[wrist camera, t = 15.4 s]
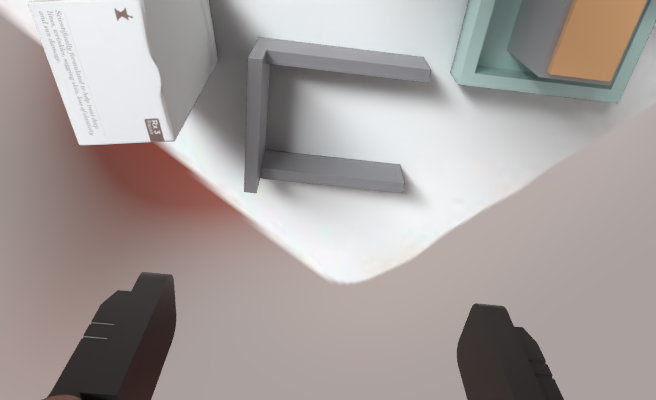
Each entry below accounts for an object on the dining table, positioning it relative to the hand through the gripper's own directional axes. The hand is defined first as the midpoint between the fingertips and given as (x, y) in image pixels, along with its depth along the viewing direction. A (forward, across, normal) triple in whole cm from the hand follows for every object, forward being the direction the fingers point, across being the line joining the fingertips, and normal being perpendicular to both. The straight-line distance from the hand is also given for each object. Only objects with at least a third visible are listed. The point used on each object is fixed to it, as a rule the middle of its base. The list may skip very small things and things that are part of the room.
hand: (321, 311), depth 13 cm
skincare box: (+30, +12, 0) cm, 33 cm away
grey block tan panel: (+30, -17, -4) cm, 34 cm away
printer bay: (+30, -1, +6) cm, 31 cm away
